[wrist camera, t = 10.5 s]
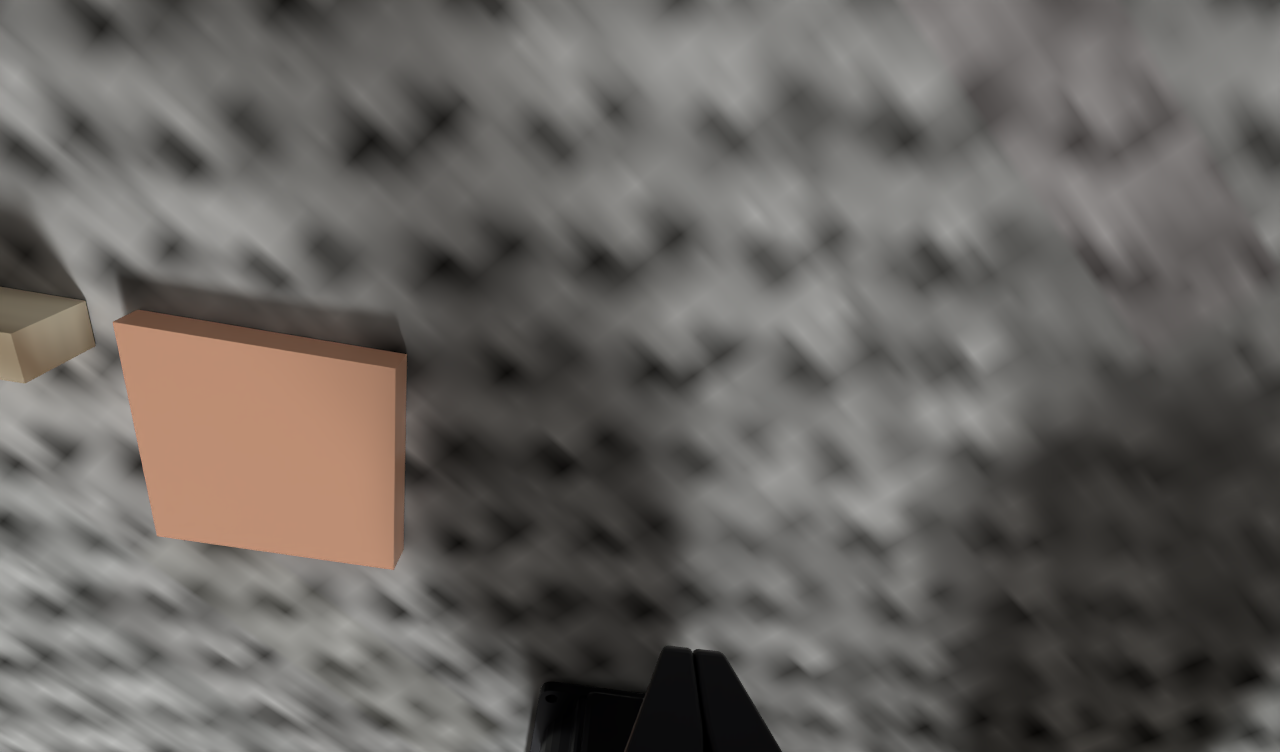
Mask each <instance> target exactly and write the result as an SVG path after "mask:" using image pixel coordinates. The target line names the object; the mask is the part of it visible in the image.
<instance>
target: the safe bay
mask: <svg viewBox="0 0 1280 752" xmlns="http://www.w3.org/2000/svg"><path fill="white" fill-rule="evenodd" d="M93 347H95V341H94V337H93V332H92V328H91V323H90V319H89V315H88V310H87V306H86V301H84V300H78V299H72V298H66V297H60V296H54V295H48V294H42V293H36V292H30V291H24V290H18V289H11V288H5V287H0V380H6V381H13V382H19V383H27V382H29V381H31V380H32V379H34V378H36V377H38V376H40V375H42V374H44V373H46V372H47V371H49V370H51V369H53V368H55V367H57V366H59V365H61V364H63V363H64V362H66V361H68V360H70V359H72V358H74V357H76V356H78V355H79V354H81V353H83V352H85V351H87V350H89V349H91V348H93Z"/></svg>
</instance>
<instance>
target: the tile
mask: <svg viewBox="0 0 1280 752" xmlns="http://www.w3.org/2000/svg"><path fill="white" fill-rule="evenodd" d="M113 326H114V331H115V336H116V340H117V345H118V350H119V355H120V360H121V365H122V369H123V374H124V379H125V384H126V389H127V393H128V398H129V403H130V408H131V413H132V418H133V422H134V427H135V432H136V437H137V442H138V446H139V451H140V456H141V461H142V466H143V471H144V475H145V480H146V485H147V490H148V495H149V499H150V504H151V509H152V514H153V519H154V524H155V528H156V533H157V536H160V537H167V538H174V539H181V540H188V541H195V542H202V543H209V544H216V545H223V546H230V547H237V548H244V549H251V550H258V551H265V552H272V553H279V554H286V555H293V556H300V557H307V558H314V559H321V560H328V561H335V562H342V563H349V564H356V565H363V566H370V567H377V568H384V569H391V570H394V568H395V566H396V564H397V562H398V560H399V558H400V556H401V554H402V552H403V548H404V493H405V438H406V382H407V354H402V353H396V352H390V351H384V350H378V349H372V348H366V347H360V346H354V345H348V344H342V343H336V342H330V341H324V340H318V339H312V338H306V337H300V336H294V335H288V334H282V333H276V332H270V331H264V330H258V329H252V328H246V327H240V326H234V325H228V324H222V323H216V322H210V321H204V320H198V319H192V318H186V317H180V316H174V315H168V314H162V313H156V312H150V311H144V310H136V311H134V312H132V313H130V314H128V315H126V316H124V317H122V318H120V319H118V320H116V321H114V322H113Z"/></svg>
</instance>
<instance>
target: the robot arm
mask: <svg viewBox="0 0 1280 752" xmlns="http://www.w3.org/2000/svg"><path fill="white" fill-rule="evenodd" d="M530 752H782V751H781V749H780V747H779V746H778V744H777V742H776V741H775V739H774V737H773V736H772V734H771V732H770V731H769V729H768V727H767V725H766V724H765V722H764V720H763V719H762V717H761V715H760V714H759V712H758V710H757V709H756V707H755V705H754V704H753V702H752V700H751V699H750V697H749V695H748V694H747V692H746V690H745V688H744V687H743V685H742V683H741V682H740V680H739V678H738V677H737V675H736V673H735V672H734V670H733V668H732V667H731V665H730V663H729V662H728V660H727V658H726V657H725V655H724V654H723V653H721V652H719V651H711V650H702V649H696V650H694V651H693V653H692V651H691V650H690V649H689V648H684V647H675V646H665V647H663V649H662V651H661V653H660V656H659V659H658V661H657V664H656V667H655V669H654V672H653V675H652V678H651V680H650V683H649V686H648V688H647V691H646V694H641V693H633V692H626V691H618V690H610V689H603V688H595V687H588V686H580V685H573V684H565V683H558V682H548V683H545V684H544V685H542V687H541V690H540V696H539V702H538V708H537V714H536V720H535V726H534V732H533V738H532V744H531V750H530Z"/></svg>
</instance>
